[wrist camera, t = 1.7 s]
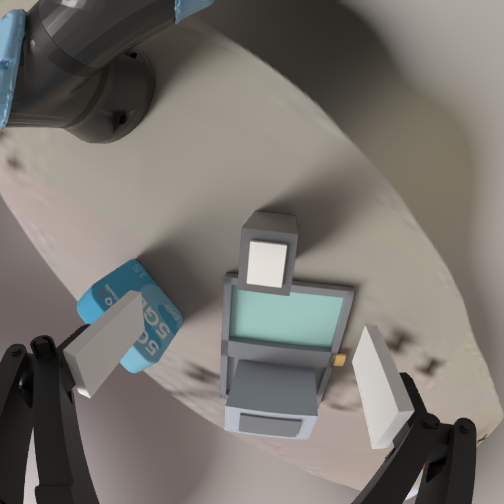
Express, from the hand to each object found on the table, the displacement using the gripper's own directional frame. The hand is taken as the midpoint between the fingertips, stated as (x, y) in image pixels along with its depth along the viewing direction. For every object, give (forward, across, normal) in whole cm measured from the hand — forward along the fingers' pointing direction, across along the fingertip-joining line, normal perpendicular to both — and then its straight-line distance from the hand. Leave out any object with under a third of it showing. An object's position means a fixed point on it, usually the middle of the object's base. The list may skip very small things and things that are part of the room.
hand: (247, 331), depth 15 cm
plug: (+21, 0, 0) cm, 21 cm away
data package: (+21, -17, -11) cm, 29 cm away
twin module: (+20, +4, -23) cm, 31 cm away
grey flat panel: (+21, +3, -17) cm, 27 cm away
